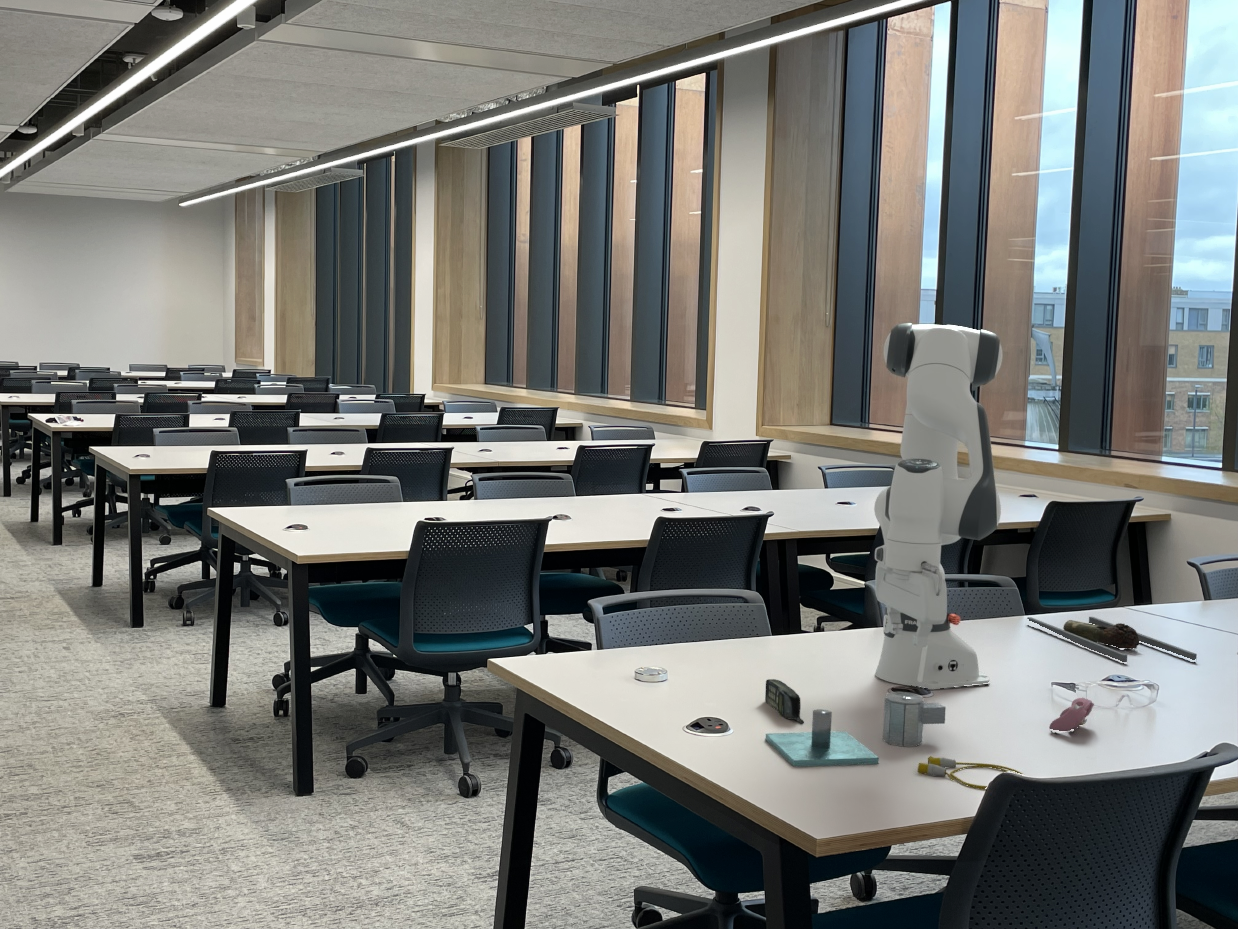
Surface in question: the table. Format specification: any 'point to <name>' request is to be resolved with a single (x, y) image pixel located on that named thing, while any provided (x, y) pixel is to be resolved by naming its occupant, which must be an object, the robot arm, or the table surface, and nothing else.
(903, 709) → the tabbed metal cylinder
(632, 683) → the table surface
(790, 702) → the mobile phone
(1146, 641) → the pipe rail right
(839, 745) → the flat teal square plate
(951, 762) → the yellow thin looped cord
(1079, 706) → the mauve lumpy piece
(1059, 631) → the pipe rail left
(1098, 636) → the olive brown elongated piece
